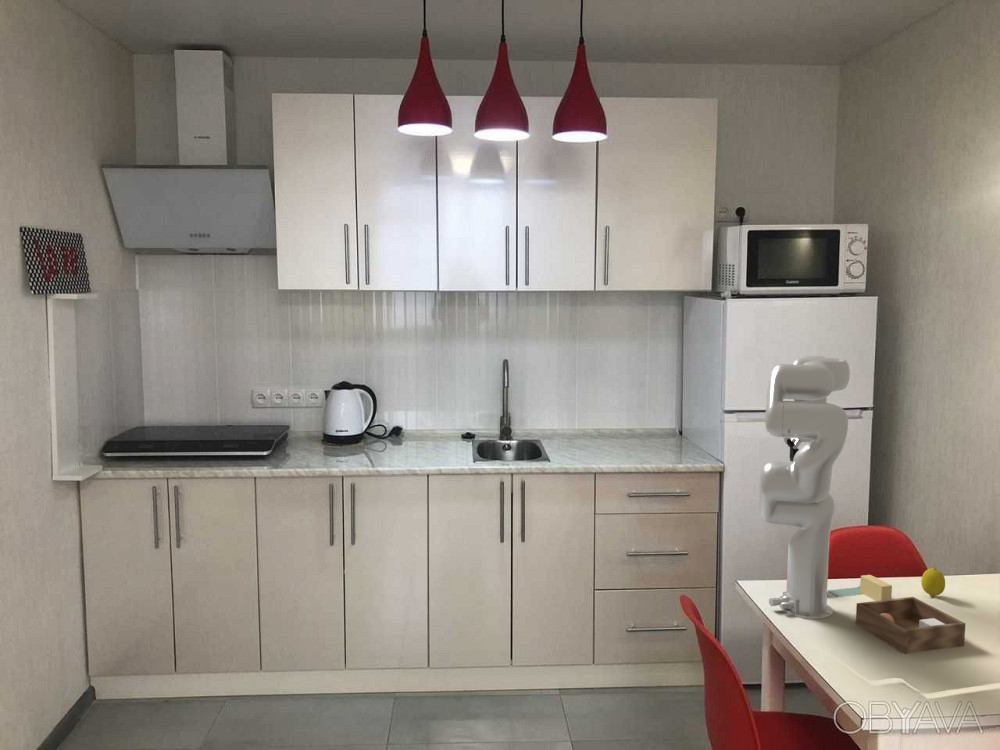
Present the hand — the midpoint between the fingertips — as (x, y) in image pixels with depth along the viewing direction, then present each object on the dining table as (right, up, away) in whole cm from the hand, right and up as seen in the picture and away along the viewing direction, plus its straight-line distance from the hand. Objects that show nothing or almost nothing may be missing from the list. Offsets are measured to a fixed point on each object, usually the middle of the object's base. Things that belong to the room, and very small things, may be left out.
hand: (809, 460), depth 221 cm
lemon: (+28, -35, -12) cm, 46 cm away
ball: (+5, -36, -34) cm, 50 cm away
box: (+9, -38, -36) cm, 53 cm away
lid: (+12, -36, -14) cm, 40 cm away
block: (+13, -37, -39) cm, 55 cm away
